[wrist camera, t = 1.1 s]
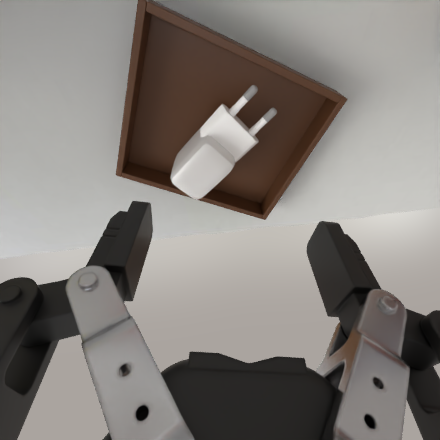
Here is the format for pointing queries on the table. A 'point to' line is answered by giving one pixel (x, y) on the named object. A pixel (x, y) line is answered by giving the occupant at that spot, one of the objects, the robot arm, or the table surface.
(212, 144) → the power adapter
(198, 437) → the robot arm
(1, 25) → the table surface
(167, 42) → the tray
